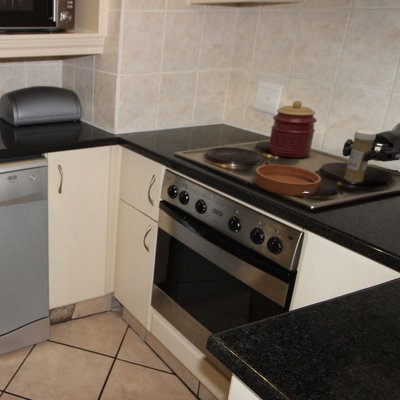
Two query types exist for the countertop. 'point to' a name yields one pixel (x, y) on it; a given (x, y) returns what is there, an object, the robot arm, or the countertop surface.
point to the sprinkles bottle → (359, 155)
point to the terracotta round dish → (286, 180)
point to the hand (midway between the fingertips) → (355, 154)
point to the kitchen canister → (292, 131)
